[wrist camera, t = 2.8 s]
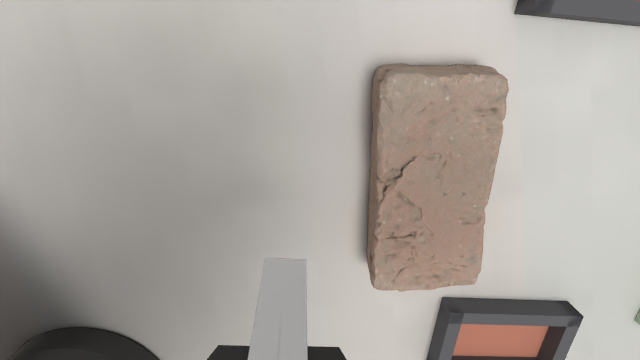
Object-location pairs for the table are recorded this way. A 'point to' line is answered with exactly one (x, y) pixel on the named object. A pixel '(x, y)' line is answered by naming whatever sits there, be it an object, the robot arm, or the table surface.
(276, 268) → the robot arm
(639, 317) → the sage end wall
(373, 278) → the brick
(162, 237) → the table surface
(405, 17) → the table surface
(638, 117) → the table surface
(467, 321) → the trap pits
